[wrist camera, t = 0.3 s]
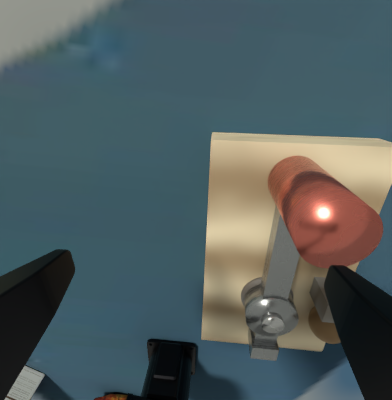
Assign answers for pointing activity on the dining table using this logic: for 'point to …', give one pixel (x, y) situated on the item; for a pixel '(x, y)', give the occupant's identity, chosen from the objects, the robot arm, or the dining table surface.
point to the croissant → (112, 397)
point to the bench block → (262, 222)
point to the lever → (304, 244)
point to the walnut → (322, 328)
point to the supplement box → (25, 384)
